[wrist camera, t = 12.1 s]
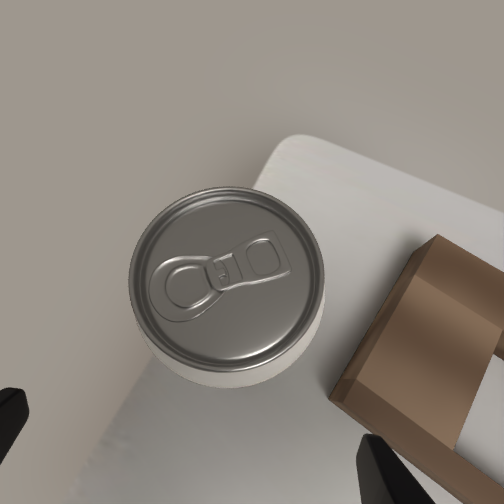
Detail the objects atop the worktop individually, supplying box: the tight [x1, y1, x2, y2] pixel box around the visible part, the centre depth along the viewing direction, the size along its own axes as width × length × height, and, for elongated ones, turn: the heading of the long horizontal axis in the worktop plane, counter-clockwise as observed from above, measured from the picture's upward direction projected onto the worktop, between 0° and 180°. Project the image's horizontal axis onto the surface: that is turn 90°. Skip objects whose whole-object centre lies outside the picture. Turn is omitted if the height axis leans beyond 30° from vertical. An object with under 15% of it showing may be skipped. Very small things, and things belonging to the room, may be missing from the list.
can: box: [129, 187, 325, 388], centre depth 14 cm, size 6×6×12 cm
